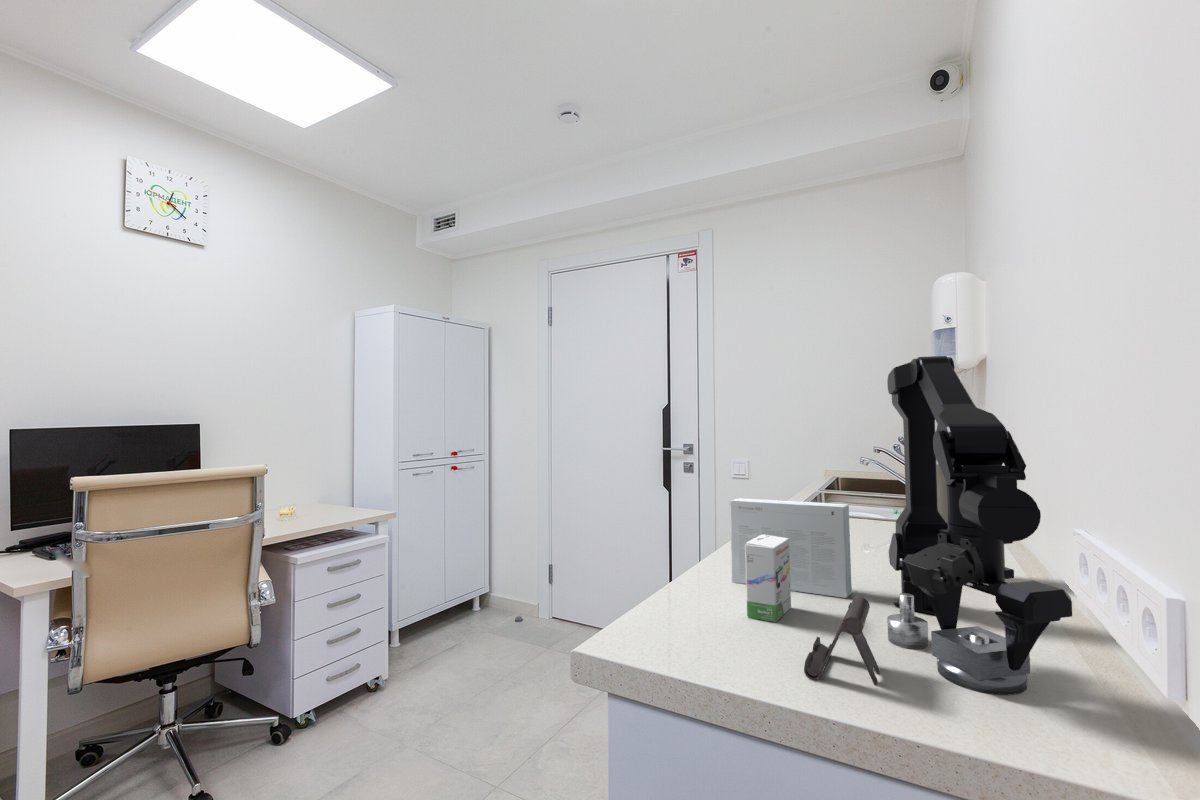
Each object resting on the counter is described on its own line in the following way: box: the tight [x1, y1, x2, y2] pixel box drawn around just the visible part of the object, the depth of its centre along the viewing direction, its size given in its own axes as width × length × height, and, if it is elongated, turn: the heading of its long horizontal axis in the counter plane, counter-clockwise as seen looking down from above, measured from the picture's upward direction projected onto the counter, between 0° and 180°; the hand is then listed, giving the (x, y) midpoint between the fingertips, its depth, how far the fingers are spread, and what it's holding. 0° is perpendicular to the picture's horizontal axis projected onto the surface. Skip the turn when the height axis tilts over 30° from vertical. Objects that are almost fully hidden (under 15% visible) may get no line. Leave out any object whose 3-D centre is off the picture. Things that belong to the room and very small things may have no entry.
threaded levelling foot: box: [886, 592, 929, 650], centre depth 79 cm, size 5×5×6 cm
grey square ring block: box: [930, 625, 1031, 680], centre depth 69 cm, size 7×7×3 cm
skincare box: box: [729, 497, 853, 599], centre depth 106 cm, size 21×6×16 cm, turn 58°
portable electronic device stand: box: [803, 596, 881, 686], centre depth 71 cm, size 9×8×8 cm
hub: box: [936, 632, 1028, 696], centre depth 69 cm, size 9×9×5 cm
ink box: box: [745, 535, 792, 623], centre depth 92 cm, size 8×5×12 cm, turn 145°
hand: (979, 653), depth 69 cm, fingers open, 9 cm apart
